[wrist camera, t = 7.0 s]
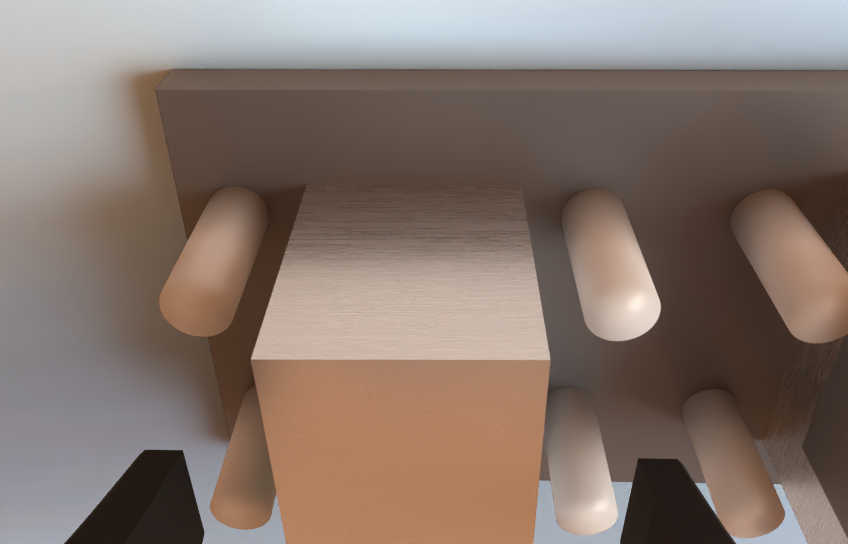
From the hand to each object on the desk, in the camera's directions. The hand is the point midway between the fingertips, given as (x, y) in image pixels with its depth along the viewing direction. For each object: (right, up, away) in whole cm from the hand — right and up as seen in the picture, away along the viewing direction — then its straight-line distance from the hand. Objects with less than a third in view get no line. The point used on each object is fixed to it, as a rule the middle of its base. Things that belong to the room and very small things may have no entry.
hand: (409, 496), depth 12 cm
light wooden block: (0, +2, +4) cm, 5 cm away
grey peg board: (+5, +3, +4) cm, 7 cm away
